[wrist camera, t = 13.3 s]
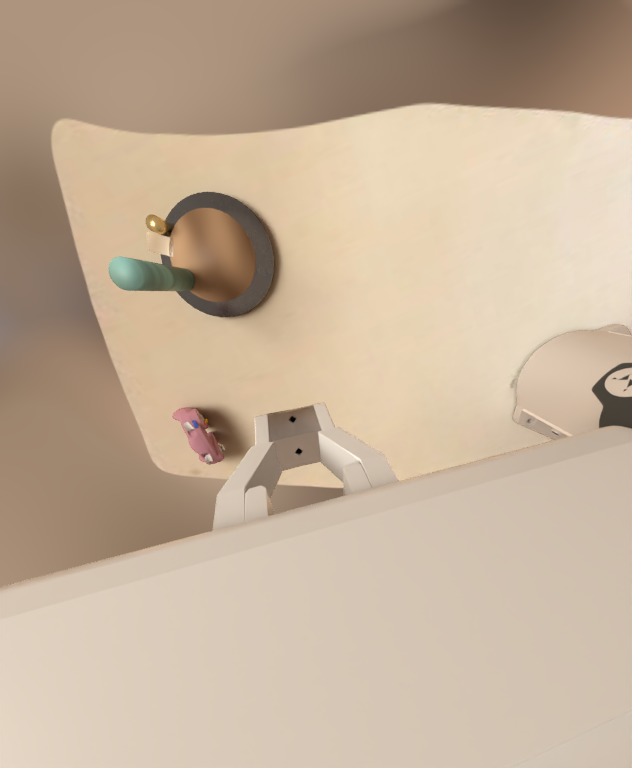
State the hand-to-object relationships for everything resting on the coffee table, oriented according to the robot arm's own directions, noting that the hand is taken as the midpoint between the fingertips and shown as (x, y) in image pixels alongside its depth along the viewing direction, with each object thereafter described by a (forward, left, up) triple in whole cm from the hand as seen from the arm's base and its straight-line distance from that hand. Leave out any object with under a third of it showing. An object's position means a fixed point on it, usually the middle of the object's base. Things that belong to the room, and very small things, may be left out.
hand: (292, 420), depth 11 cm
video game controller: (+5, +23, -26) cm, 35 cm away
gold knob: (+21, -1, -26) cm, 33 cm away
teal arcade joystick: (+15, -1, -24) cm, 28 cm away
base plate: (+14, -1, -26) cm, 30 cm away
